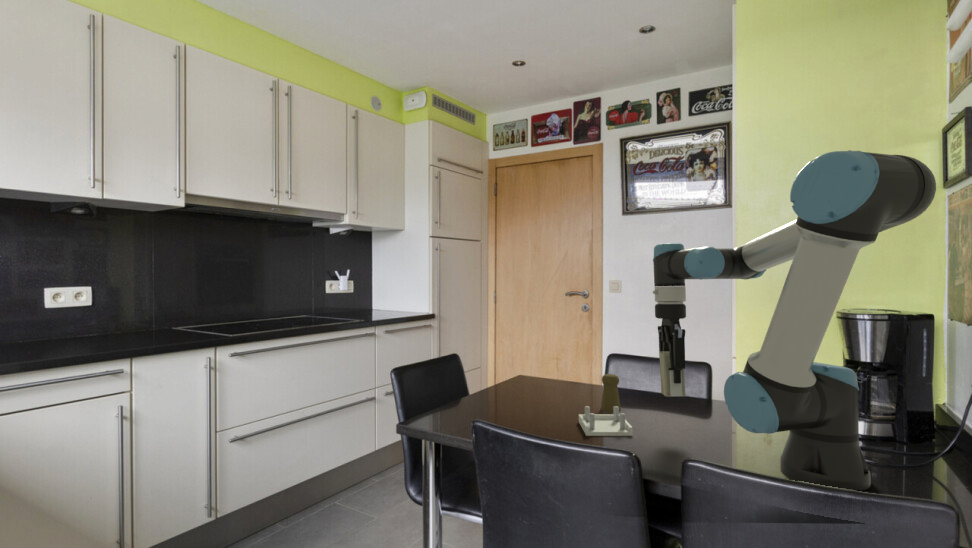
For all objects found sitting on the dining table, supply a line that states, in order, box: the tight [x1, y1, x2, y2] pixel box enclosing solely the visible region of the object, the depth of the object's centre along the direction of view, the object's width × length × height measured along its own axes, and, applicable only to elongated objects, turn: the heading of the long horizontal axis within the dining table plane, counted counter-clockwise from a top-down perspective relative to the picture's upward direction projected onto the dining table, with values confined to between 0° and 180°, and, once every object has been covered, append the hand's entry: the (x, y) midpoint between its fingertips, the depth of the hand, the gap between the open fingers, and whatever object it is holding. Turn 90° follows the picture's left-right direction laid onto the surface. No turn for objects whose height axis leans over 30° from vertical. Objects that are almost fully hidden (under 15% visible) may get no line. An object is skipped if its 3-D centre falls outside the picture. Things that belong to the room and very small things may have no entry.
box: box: [658, 351, 686, 398], centre depth 124 cm, size 5×4×11 cm
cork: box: [600, 373, 622, 414], centre depth 149 cm, size 6×6×11 cm
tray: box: [578, 405, 634, 437], centre depth 130 cm, size 12×12×5 cm
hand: (672, 393), depth 124 cm, fingers closed on box, 4 cm apart
